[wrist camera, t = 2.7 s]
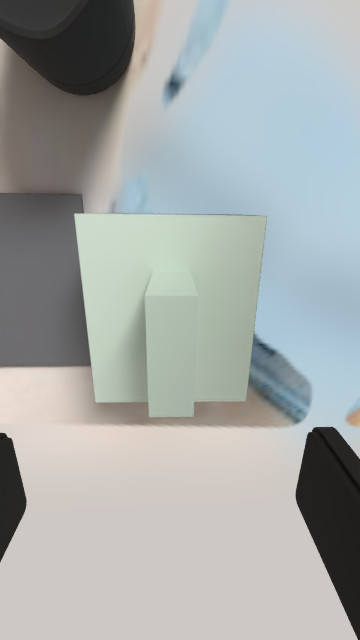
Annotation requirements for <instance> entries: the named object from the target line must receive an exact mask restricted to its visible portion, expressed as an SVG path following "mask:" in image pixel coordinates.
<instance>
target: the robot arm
mask: <svg viewBox="0 0 360 640" xmlns="http://www.w3.org/2000/svg"><path fill="white" fill-rule="evenodd" d="M296 501H297V504H298V507H299V509H300V511H301V513H302V516H303V518H304V520H305V523H306V525H307V527H308V529H309V532H310V534H311V536H312V538H313V540H314V543H315V545H316V547H317V549H318V552H319V554H320V556H321V558H322V561H323V563H324V565H325V567H326V569H327V572H328V574H329V576H330V578H331V581H332V583H333V585H334V587H335V589H336V592H337V594H338V596H339V598H340V600H341V603H342V605H343V607H344V610H345V612H346V614H347V616H348V618H349V621H350V623H351V625H352V627H353V629H354V632H355V634H356V636H357V638H358V640H360V459H359V458H358V456H357V455H356V454H355V453H354V451H353V450H352V449H351V447H350V446H349V445H348V444H347V442H346V441H345V440H344V439H343V437H342V436H341V435H340V434H339V432H338V431H337V430H336V429H335V428H333V427H315V428H314V429H313V430H312V432H309V433H308V435H307V439H306V445H305V449H304V454H303V459H302V464H301V469H300V474H299V479H298V483H297V488H296ZM25 509H26V496H25V492H24V487H23V483H22V479H21V475H20V471H19V466H18V462H17V458H16V454H15V450H14V445H13V441H12V439H11V438H8V437H7V435H6V434H5V433H0V562H1V560H2V557H3V555H4V553H5V551H6V549H7V547H8V545H9V543H10V541H11V539H12V537H13V535H14V533H15V531H16V529H17V527H18V525H19V522H20V520H21V519H22V516H23V514H24V512H25Z"/></svg>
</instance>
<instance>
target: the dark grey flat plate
mask: <svg viewBox="0 0 360 640" xmlns="http://www.w3.org/2000/svg"><path fill="white" fill-rule="evenodd" d="M82 213H84V211H83V202H82V195H80V194H15V193H0V365H91V358H90V349H89V340H88V332H87V323H86V314H85V305H84V296H83V287H82V278H81V270H80V261H79V252H78V243H77V234H76V225H75V216H74V214H82Z"/></svg>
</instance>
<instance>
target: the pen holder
mask: <svg viewBox="0 0 360 640" xmlns="http://www.w3.org/2000/svg"><path fill="white" fill-rule="evenodd" d="M0 38H1V39H2V40H3V41H4V42H5V43H6V44H7V45H8V46H10V47H11V48H12V49H13V50H14V51H15V52H16V53H17V54H18V55H19V56H20V57H21V58H23V59H24V60H25V61H26V62H27V63H28V64H29V65H30V66H31V67H33V68H34V69H35V70H36V71H37V72H38V73H39V74H41V75H42V76H43V77H44V78H45V79H47V80H48V81H49V82H50V83H52V84H53V85H55V86H56V87H58V88H60V89H62V90H64V91H66V92H69V93H73V94H78V95H90V94H96V93H98V92H101V91H103V90H105V89H107V88H109V87H110V86H111V85H113V84H114V83H115V82H116V81H117V80H118V79H119V78H120V76H121V75H122V74H123V72H124V71H125V69H126V67H127V65H128V63H129V60H130V58H131V55H132V51H133V47H134V40H135V13H134V3H133V0H0Z"/></svg>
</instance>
